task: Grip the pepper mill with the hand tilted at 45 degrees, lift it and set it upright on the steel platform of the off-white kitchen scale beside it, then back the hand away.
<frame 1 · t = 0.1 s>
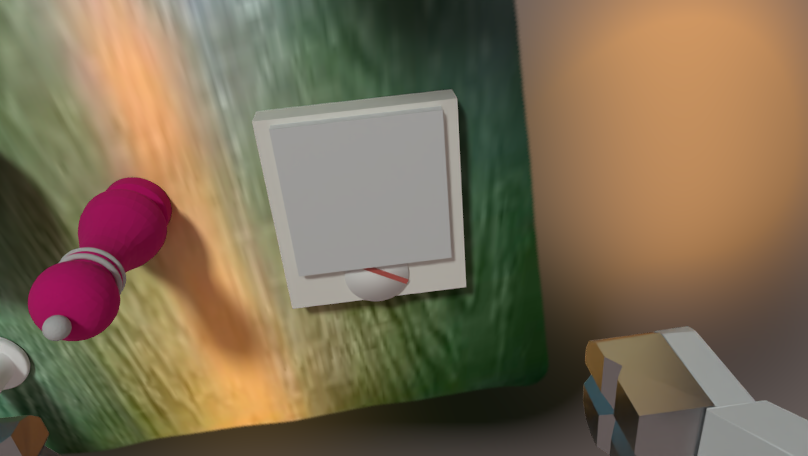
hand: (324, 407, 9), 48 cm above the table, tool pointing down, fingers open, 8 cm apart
kitchen scale: (367, 198, 60), on the table
pepper mill: (139, 205, 59), on the table
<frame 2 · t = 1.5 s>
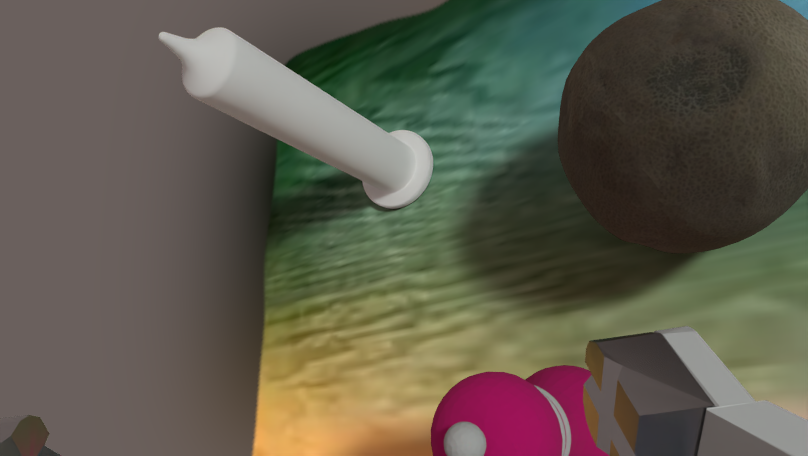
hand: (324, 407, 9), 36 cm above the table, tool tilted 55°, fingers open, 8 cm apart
pepper mill: (586, 421, 41), on the table
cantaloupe: (700, 169, 41), on the table
candle: (400, 171, 54), on the table
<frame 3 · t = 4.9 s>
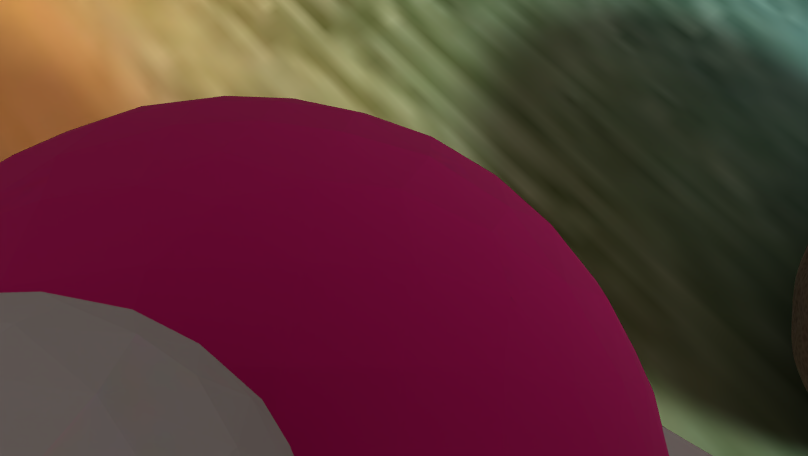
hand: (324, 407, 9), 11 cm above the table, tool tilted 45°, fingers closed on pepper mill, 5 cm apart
pepper mill: (369, 428, 20), on the table, touching gripper
when the fingers open (17 cm above the table, at t = 10.7 s): pepper mill moves 2 cm, resting on kitchen scale.
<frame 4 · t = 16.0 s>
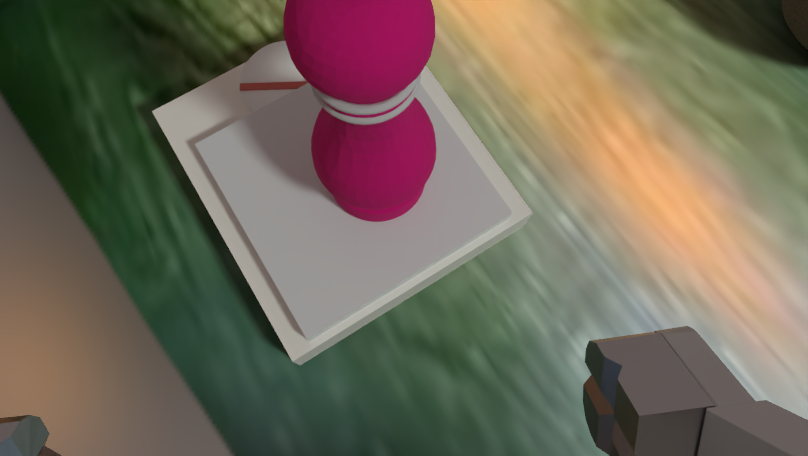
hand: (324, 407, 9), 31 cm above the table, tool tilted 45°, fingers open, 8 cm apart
kitchen scale: (341, 177, 44), on the table
pepper mill: (377, 177, 40), point 4 cm above the table, touching kitchen scale
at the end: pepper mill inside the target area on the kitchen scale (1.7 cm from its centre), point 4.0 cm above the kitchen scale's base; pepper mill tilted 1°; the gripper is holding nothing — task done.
